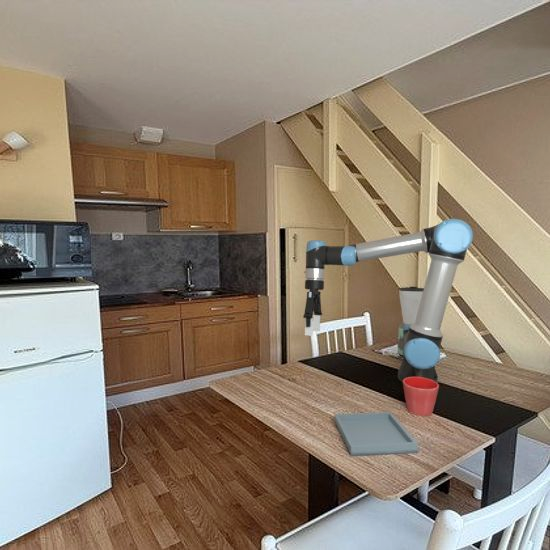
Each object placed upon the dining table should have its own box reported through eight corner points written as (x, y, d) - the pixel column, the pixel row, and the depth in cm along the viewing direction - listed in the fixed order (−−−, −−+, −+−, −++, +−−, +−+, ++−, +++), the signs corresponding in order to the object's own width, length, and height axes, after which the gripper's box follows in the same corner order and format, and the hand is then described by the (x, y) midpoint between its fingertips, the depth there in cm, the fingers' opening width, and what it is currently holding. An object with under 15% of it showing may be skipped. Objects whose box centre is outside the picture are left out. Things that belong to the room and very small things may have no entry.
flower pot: (435, 421, 108) (436, 391, 107) (399, 413, 114) (399, 384, 113) (440, 408, 117) (440, 380, 116) (405, 401, 123) (406, 374, 122)
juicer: (411, 364, 162) (413, 289, 159) (389, 356, 173) (390, 286, 171) (437, 357, 171) (439, 286, 168) (414, 350, 183) (416, 284, 180)
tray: (390, 419, 110) (390, 411, 109) (418, 452, 92) (418, 443, 92) (334, 421, 108) (334, 414, 108) (351, 456, 91) (351, 447, 90)
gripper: (312, 279, 152) (310, 328, 151) (297, 278, 128) (294, 336, 128) (329, 280, 149) (327, 330, 149) (317, 279, 125) (315, 338, 125)
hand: (312, 333), depth 138 cm, fingers open, 13 cm apart
